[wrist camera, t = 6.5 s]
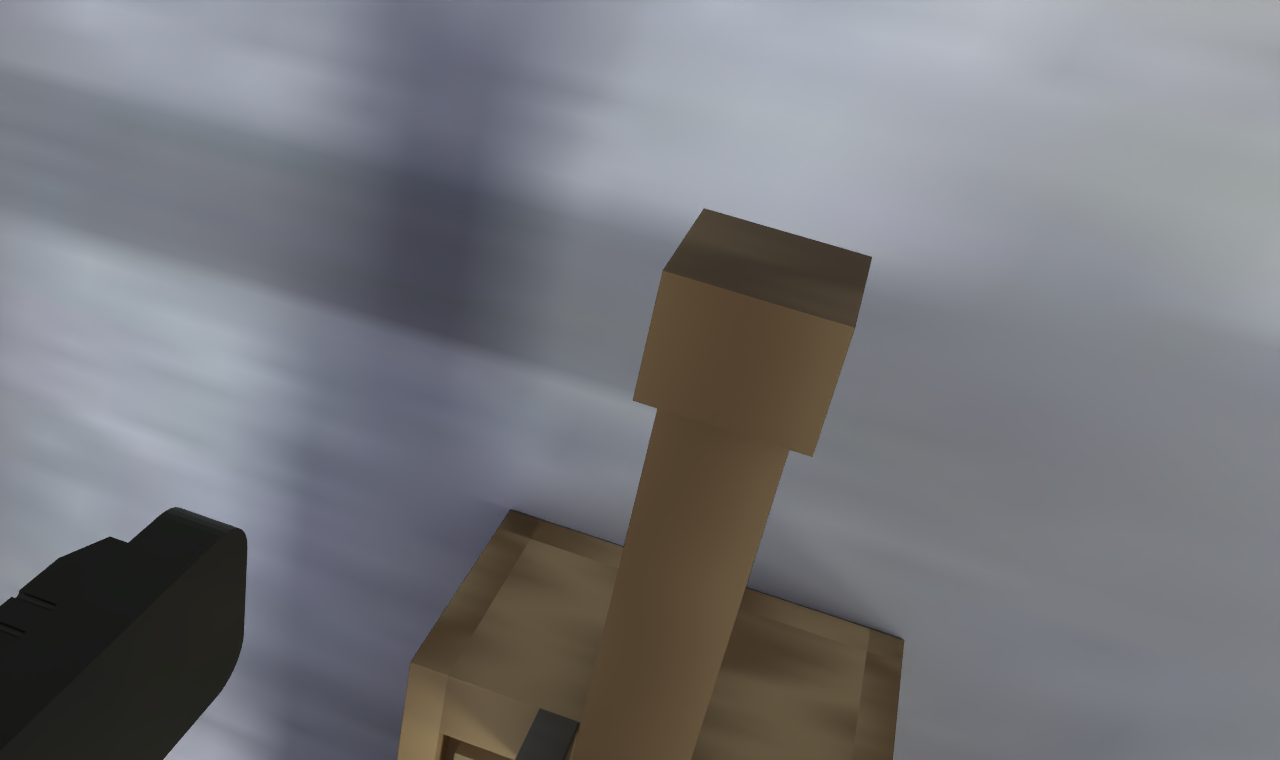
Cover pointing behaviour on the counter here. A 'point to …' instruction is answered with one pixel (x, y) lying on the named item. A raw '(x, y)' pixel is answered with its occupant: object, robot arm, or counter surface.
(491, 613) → the wooden box
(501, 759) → the lid
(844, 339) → the brown block
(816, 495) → the counter surface
